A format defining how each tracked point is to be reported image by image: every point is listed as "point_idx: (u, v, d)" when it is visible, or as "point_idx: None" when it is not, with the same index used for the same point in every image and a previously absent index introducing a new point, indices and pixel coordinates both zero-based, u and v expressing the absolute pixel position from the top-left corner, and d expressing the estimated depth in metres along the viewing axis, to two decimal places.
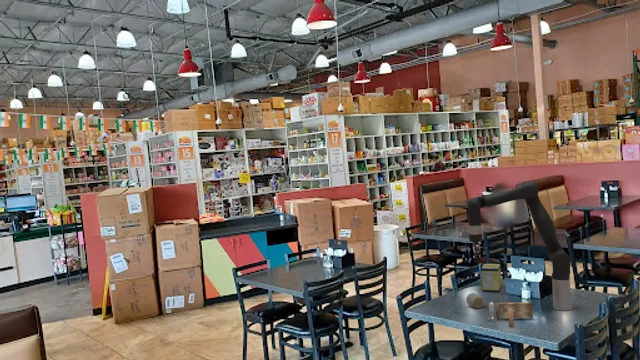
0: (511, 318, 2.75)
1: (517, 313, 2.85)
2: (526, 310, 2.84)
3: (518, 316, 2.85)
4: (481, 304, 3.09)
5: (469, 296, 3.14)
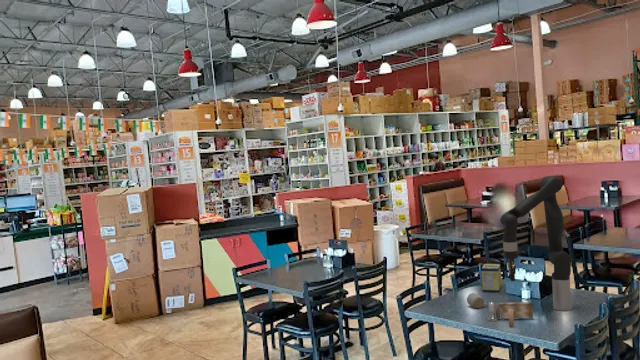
0: (511, 318, 2.75)
1: (517, 313, 2.85)
2: (526, 310, 2.84)
3: (518, 316, 2.85)
4: (482, 304, 3.09)
5: (470, 296, 3.14)
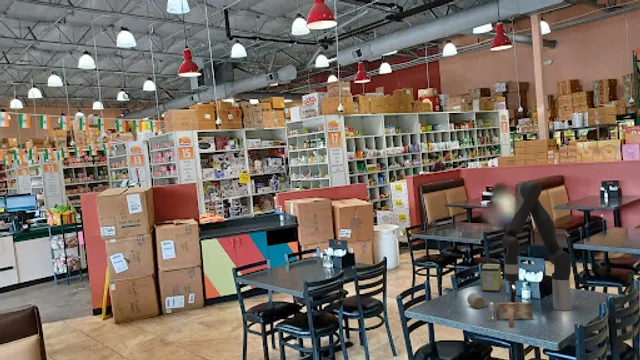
0: (511, 318, 2.75)
1: (517, 313, 2.85)
2: (526, 310, 2.84)
3: (518, 316, 2.85)
4: (482, 304, 3.10)
5: (470, 296, 3.14)
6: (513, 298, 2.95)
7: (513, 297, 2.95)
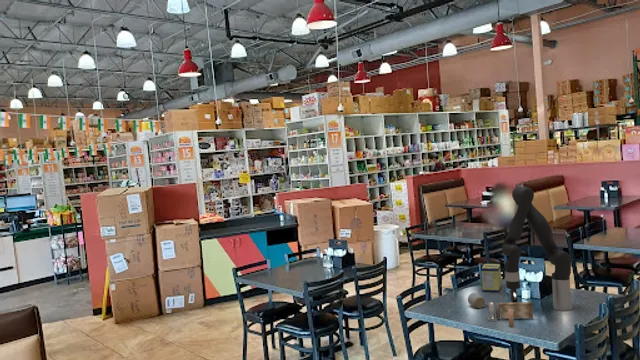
0: (511, 318, 2.75)
1: (517, 313, 2.85)
2: (526, 310, 2.84)
3: (518, 316, 2.85)
4: (482, 304, 3.10)
5: (470, 296, 3.14)
6: None
7: None
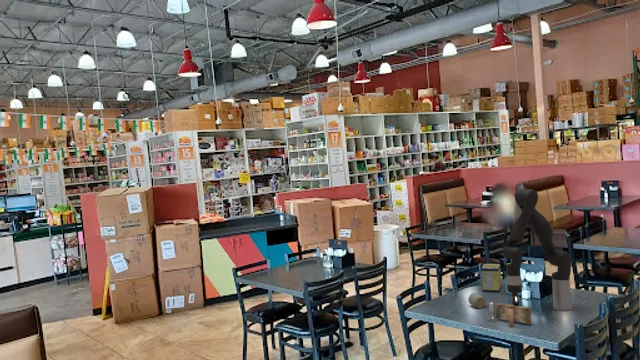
0: (511, 318, 2.75)
1: (514, 316, 2.80)
2: (523, 315, 2.77)
3: (515, 319, 2.80)
4: (483, 304, 3.10)
5: (471, 296, 3.14)
6: None
7: None
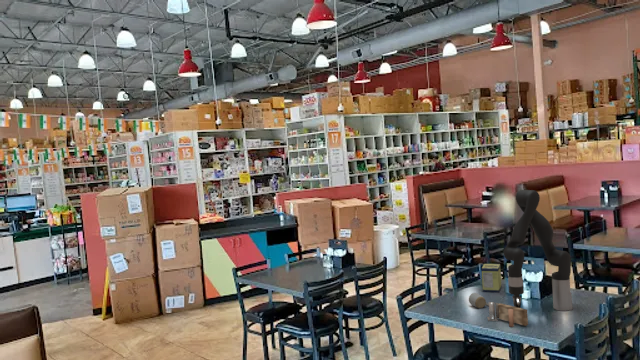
0: (511, 318, 2.75)
1: None
2: (519, 316, 2.75)
3: None
4: (483, 304, 3.10)
5: (471, 296, 3.14)
6: None
7: None
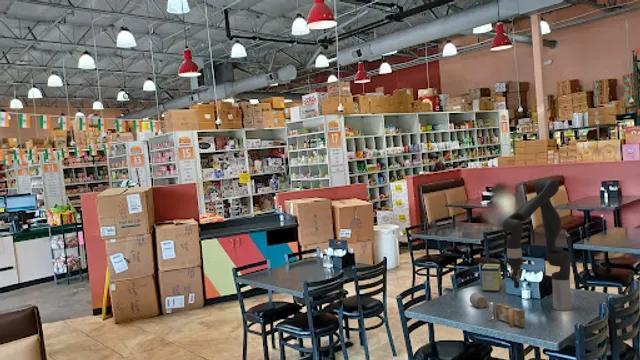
0: (511, 318, 2.75)
1: None
2: (517, 317, 2.74)
3: None
4: (484, 304, 3.10)
5: (472, 296, 3.14)
6: (515, 283, 2.83)
7: (515, 282, 2.83)
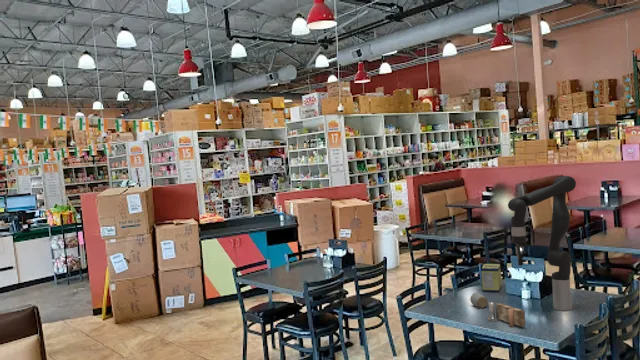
0: (511, 318, 2.75)
1: None
2: (517, 317, 2.74)
3: None
4: (485, 303, 3.10)
5: (473, 295, 3.14)
6: (521, 261, 2.94)
7: (521, 260, 2.94)
